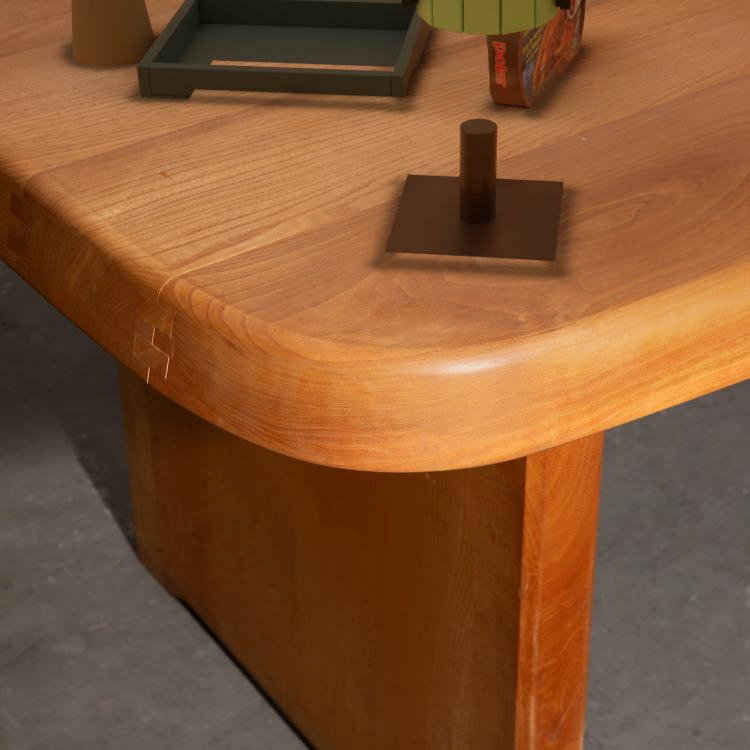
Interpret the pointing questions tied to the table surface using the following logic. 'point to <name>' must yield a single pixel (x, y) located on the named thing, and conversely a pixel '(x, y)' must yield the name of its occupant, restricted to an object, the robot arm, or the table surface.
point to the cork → (110, 31)
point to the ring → (486, 15)
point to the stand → (477, 208)
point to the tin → (533, 55)
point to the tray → (285, 47)
